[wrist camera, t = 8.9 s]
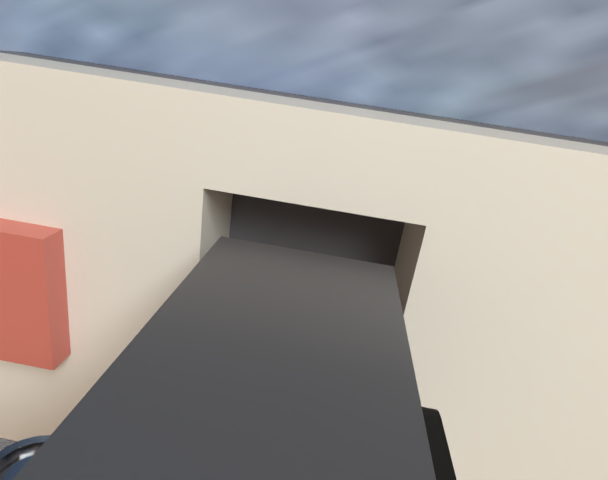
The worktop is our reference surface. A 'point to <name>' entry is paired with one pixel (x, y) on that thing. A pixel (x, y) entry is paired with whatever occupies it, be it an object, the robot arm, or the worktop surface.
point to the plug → (255, 380)
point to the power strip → (308, 244)
